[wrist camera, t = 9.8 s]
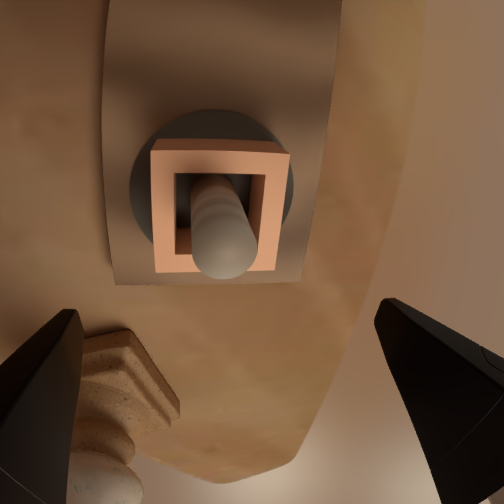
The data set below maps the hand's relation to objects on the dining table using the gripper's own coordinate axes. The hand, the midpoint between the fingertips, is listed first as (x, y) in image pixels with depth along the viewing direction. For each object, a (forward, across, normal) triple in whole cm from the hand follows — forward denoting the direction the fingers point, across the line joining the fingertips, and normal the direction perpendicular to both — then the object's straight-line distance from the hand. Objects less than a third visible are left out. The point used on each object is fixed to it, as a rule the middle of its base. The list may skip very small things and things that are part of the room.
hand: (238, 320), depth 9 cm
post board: (+12, 0, -6) cm, 13 cm away
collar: (+10, 0, 0) cm, 10 cm away
